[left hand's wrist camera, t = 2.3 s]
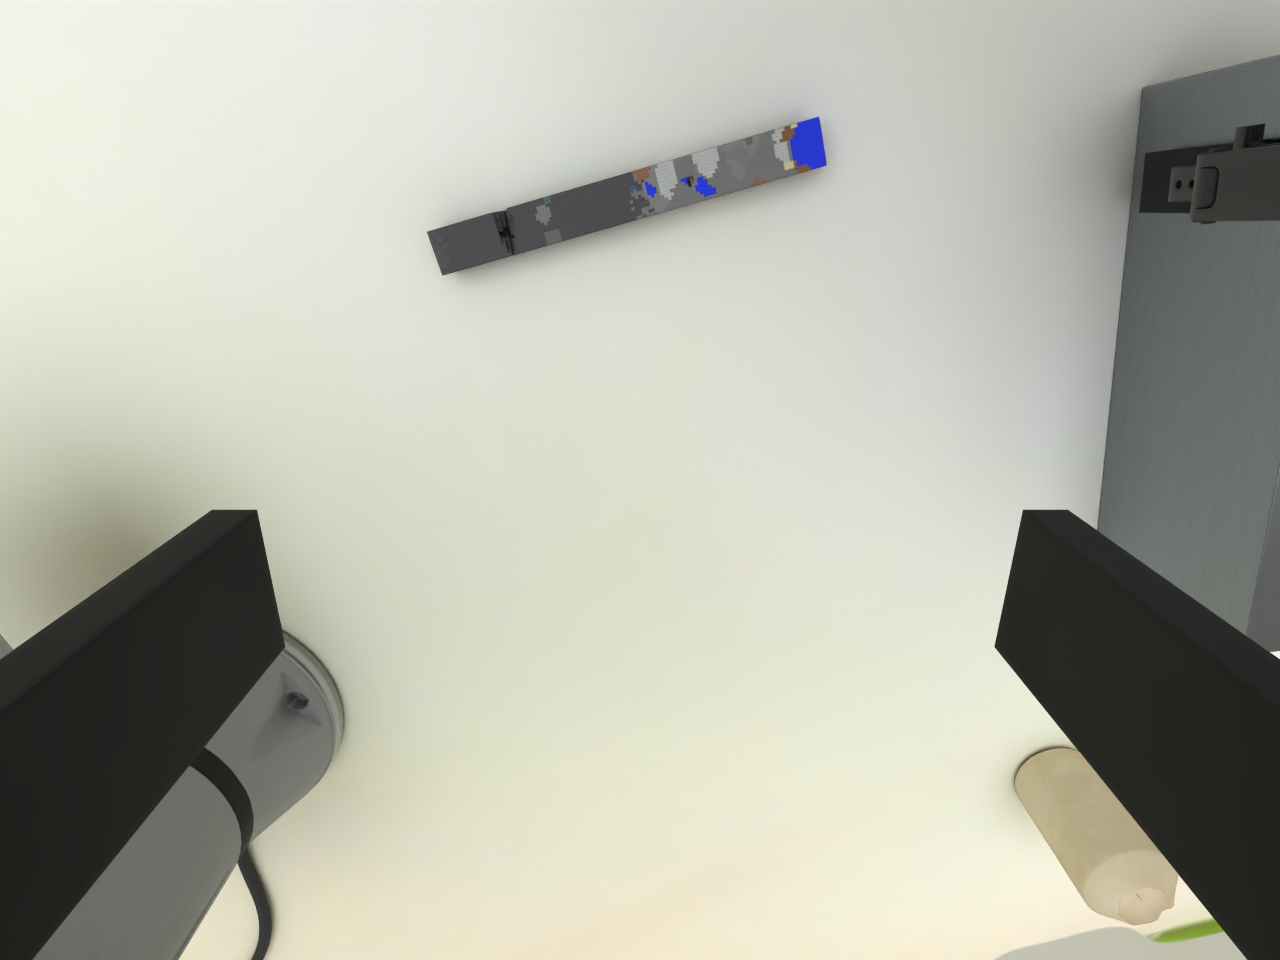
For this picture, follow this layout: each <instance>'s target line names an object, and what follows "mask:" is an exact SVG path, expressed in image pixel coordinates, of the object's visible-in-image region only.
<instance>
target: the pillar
mask: <svg viewBox="0 0 1280 960" xmlns="http://www.w3.org/2000/svg"><path fill="white" fill-rule="evenodd" d="M823 166H826V157H825V151H824V145H823V139H822V132H821V126H820V120H819V117H816V118H813V119H810V120H806V121H803V122H799V123H796V124H792V125H789V126H786V127H782V128H779V129H775V130H772V131H769V132H765V133H762V134H758V135H755V136H752V137H748V138H745V139H741V140H738V141H735V142H731V143H728V144H724V145H721V146H718V147H714V148H711V149H707V150H704V151H701V152H697V153H694V154H690V155H687V156H683V157H680V158H677V159H673V160H670V161H666V162H663V163H660V164H656V165H653V166H649V167H646V168H643V169H639V170H636V171H632V172H629V173H626V174H622V175H619V176H615V177H612V178H609V179H605V180H602V181H598V182H595V183H591V184H588V185H585V186H581V187H578V188H574V189H571V190H568V191H564V192H561V193H557V194H554V195H551V196H547V197H544V198H540V199H537V200H534V201H530V202H527V203H523V204H520V205H517V206H513V207H510V208H507V210H506V211H500V212H494V213H489V214H486V215H482V216H479V217H476V218H472V219H469V220H465V221H462V222H459V223H455V224H452V225H448V226H445V227H442V228H438V229H435V230H431V231H428V232H427V233H428V236H429V239H430V242H431V245H432V247H433V250H434V253H435V256H436V259H437V261H438V264H439V267H440V270H441V273H442V276H443V275H446V274H450V273H453V272H457V271H460V270H464V269H467V268H471V267H474V266H478V265H481V264H485V263H488V262H492V261H495V260H499V259H502V258H506V257H509V256H512V255H516V254H520V253H523V252H526V251H530V250H533V249H537V248H540V247H544V246H547V245H551V244H554V243H558V242H561V241H565V240H568V239H572V238H575V237H579V236H582V235H586V234H589V233H593V232H596V231H600V230H603V229H607V228H610V227H614V226H617V225H621V224H624V223H628V222H631V221H635V220H638V219H642V218H645V217H649V216H652V215H656V214H659V213H663V212H666V211H669V210H673V209H676V208H680V207H683V206H687V205H690V204H694V203H697V202H701V201H704V200H708V199H711V198H715V197H718V196H722V195H725V194H729V193H732V192H736V191H739V190H743V189H746V188H750V187H753V186H757V185H760V184H764V183H767V182H771V181H774V180H778V179H781V178H785V177H788V176H792V175H795V174H799V173H802V172H806V171H809V170H812V169H816V168H819V167H823Z"/></svg>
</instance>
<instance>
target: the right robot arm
mask: <svg viewBox="0 0 1280 960" xmlns="http://www.w3.org/2000/svg"><path fill="white" fill-rule="evenodd" d="M1265 124H1266V123H1264V124H1257V125H1250V126H1243V127H1237V128H1236V131H1235V138H1234V143H1227V144H1218V145H1209V146H1200V147H1190V148H1181V149H1172V150H1163V151H1156V152H1149V153H1145V160H1144V169H1143V178H1142V188H1141V197H1140V207H1139V213H1190V218H1189V221H1193V222H1192V223H1195V222H1200V224H1212V223H1216V221H1280V143H1273V142H1274V138H1272V139H1263V137H1264V130H1265Z"/></svg>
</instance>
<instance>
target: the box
mask: <svg viewBox="0 0 1280 960" xmlns="http://www.w3.org/2000/svg"><path fill="white" fill-rule="evenodd" d="M1264 123H1266V124H1265V130H1264V137H1263V139H1272V138H1274V142H1273V143H1280V55H1276V56H1272V57H1268V58H1263V59H1259V60H1255V61H1251V62H1247V63H1242V64H1238V65H1234V66H1230V67H1226V68H1222V69H1217V70H1213V71H1209V72H1205V73H1201V74H1197V75H1192V76H1188V77H1184V78H1180V79H1176V80H1172V81H1167V82H1163V83H1159V84H1155V85H1151V86H1146V87H1144V88H1143V90H1142V100H1141V109H1140V119H1139V129H1138V139H1137V149H1136V159H1135V169H1134V178H1133V188H1132V198H1131V208H1130V218H1129V228H1128V237H1127V247H1126V257H1125V267H1124V277H1123V287H1122V297H1121V306H1120V316H1119V326H1118V336H1117V346H1116V356H1115V365H1114V375H1113V385H1112V395H1111V405H1110V415H1109V425H1108V434H1107V444H1106V454H1105V464H1104V474H1103V484H1102V493H1101V503H1100V513H1099V523H1098V532H1100V533H1101V534H1103V535H1104V536H1106V537H1107V538H1108V539H1110V540H1111V541H1113V542H1114V543H1115V544H1117V545H1118V546H1120V547H1121V548H1123V549H1124V550H1125V551H1127V552H1128V553H1130V554H1131V555H1132V556H1134V557H1135V558H1137V559H1138V560H1140V561H1141V562H1142V563H1144V564H1145V565H1147V566H1148V567H1149V568H1151V569H1152V570H1154V571H1155V572H1157V573H1158V574H1159V575H1161V576H1162V577H1164V578H1165V579H1166V580H1168V581H1169V582H1171V583H1172V584H1174V585H1175V586H1176V587H1178V588H1179V589H1181V590H1182V591H1183V592H1185V593H1186V594H1188V595H1189V596H1191V597H1192V598H1193V599H1195V600H1196V601H1198V602H1199V603H1201V604H1202V605H1203V606H1205V607H1206V608H1208V609H1209V610H1210V611H1212V612H1213V613H1215V614H1216V615H1218V616H1219V617H1220V618H1222V619H1223V620H1225V621H1226V622H1227V623H1229V624H1230V625H1232V626H1233V627H1235V628H1236V629H1237V630H1239V631H1240V632H1242V633H1243V634H1244V635H1246V636H1247V637H1249V638H1250V639H1252V640H1253V641H1254V642H1256V643H1257V644H1259V645H1260V646H1261V647H1263V648H1264V649H1266V650H1267V651H1269V652H1274V651H1280V221H1216V223H1212V224H1200V222H1195V223H1192V222H1193V221H1189V218H1190V213H1139V207H1140V197H1141V188H1142V178H1143V169H1144V160H1145V153H1149V152H1156V151H1163V150H1172V149H1181V148H1190V147H1200V146H1209V145H1218V144H1227V143H1234V138H1235V131H1236V128H1237V127H1243V126H1250V125H1257V124H1264Z"/></svg>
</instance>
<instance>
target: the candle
mask: <svg viewBox="0 0 1280 960" xmlns="http://www.w3.org/2000/svg"><path fill="white" fill-rule="evenodd" d="M1015 789H1016V793H1017V795H1018V797H1019V799H1020V801H1021V802H1022V804H1023V806H1024V807H1025V809H1026V810H1027V812H1028V814H1029V815H1030V817H1031V818H1032V820H1033V821H1034V823H1035V824H1036V826H1037V828H1038V829H1039V831H1040V832H1041V834H1042V835H1043V837H1044V839H1045V840H1046V842H1047V843H1048V845H1049V846H1050V848H1051V849H1052V851H1053V853H1054V854H1055V856H1056V857H1057V859H1058V860H1059V862H1060V864H1061V865H1062V867H1063V868H1064V870H1065V871H1066V873H1067V875H1068V876H1069V878H1070V879H1071V881H1072V882H1073V884H1074V885H1075V887H1076V889H1077V890H1078V892H1079V893H1080V895H1081V896H1082V898H1083V900H1084V901H1085V903H1086V904H1087V905H1088V907H1089V908H1090V909H1092V910H1093V911H1095V912H1096V913H1098V914H1101V915H1104V916H1107V917H1110V918H1113V919H1116V920H1120V921H1123V922H1126V923H1128V924H1130V925H1140V924H1146V923H1151V922H1154V921H1156V920H1157V919H1158V918H1159V916H1160V914H1161V913H1162V911H1164V910H1166V909H1170V908H1172V907H1173V906H1174V896H1175V890H1176V885H1177V880H1178V873H1177V872H1176V871H1175V870H1174V868H1173V867H1172V866H1171V865H1170V863H1169V862H1168V861H1167V860H1166V858H1165V857H1164V856H1163V855H1162V853H1161V852H1160V851H1159V850H1158V848H1157V847H1156V846H1155V845H1154V844H1153V842H1152V841H1151V840H1150V839H1149V837H1148V836H1147V835H1146V834H1145V832H1144V831H1143V830H1142V829H1141V827H1140V826H1139V825H1138V824H1137V822H1136V821H1135V820H1134V819H1133V818H1132V816H1131V815H1130V814H1129V813H1128V811H1127V810H1126V809H1125V808H1124V806H1123V805H1122V804H1121V803H1120V801H1119V800H1118V799H1117V798H1116V797H1115V795H1114V794H1113V793H1112V792H1111V790H1110V789H1109V788H1108V787H1107V785H1106V784H1105V783H1104V782H1103V780H1102V779H1101V778H1100V777H1099V775H1098V774H1097V773H1096V772H1095V771H1094V769H1093V768H1092V767H1091V766H1090V764H1089V763H1088V762H1087V761H1086V759H1085V758H1084V757H1083V756H1082V754H1081V753H1080V752H1078V751H1075V750H1072V749H1066V748H1056V749H1050V750H1046V751H1043V752H1041V753H1038V754H1036V755H1035V756H1033V757H1031V758H1030V759H1029V760H1027V761H1026V762H1025V763H1024V764H1023V765H1022V767H1021V768H1020V769H1019V771H1018V773H1017V775H1016V778H1015Z"/></svg>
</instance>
